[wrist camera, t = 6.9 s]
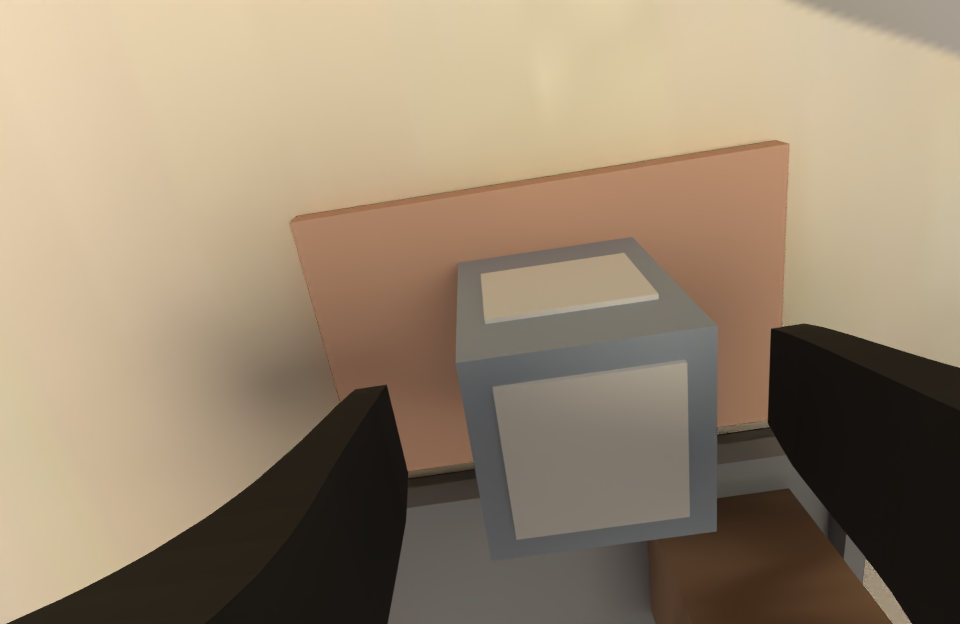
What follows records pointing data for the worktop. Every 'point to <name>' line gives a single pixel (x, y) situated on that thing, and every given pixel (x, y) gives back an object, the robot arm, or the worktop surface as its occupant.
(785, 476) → the parts tray
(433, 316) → the rubber mat
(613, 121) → the worktop surface
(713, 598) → the walnut block
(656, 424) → the labelled block
